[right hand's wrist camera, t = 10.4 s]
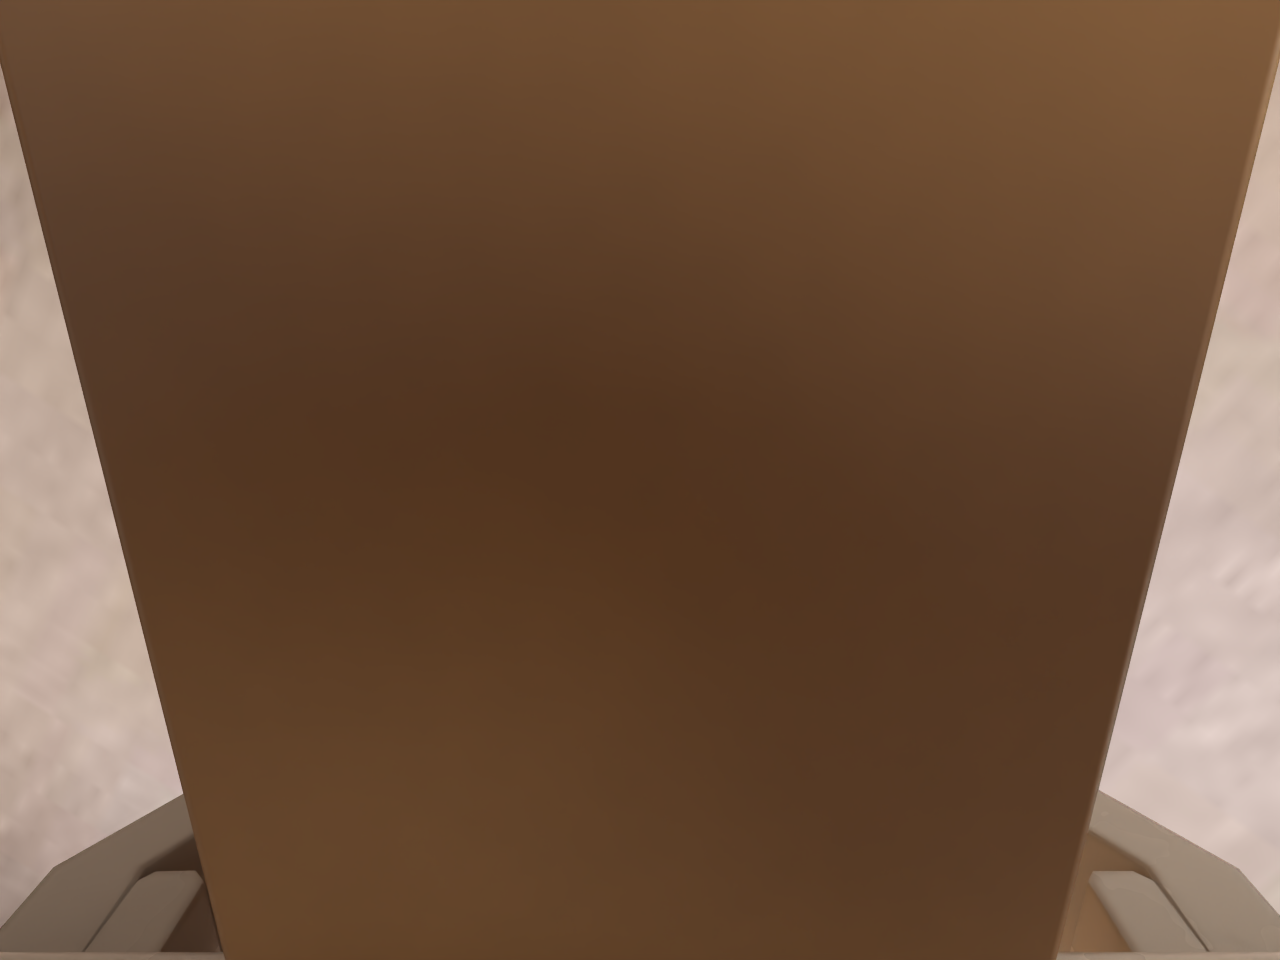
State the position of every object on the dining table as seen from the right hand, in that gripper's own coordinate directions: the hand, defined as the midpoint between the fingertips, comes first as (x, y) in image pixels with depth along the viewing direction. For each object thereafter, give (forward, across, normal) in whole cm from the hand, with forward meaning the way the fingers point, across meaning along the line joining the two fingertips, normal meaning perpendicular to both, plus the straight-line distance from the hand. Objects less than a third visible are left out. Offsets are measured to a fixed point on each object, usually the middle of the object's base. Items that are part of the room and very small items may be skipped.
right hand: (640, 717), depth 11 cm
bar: (+3, 0, -9) cm, 10 cm away
